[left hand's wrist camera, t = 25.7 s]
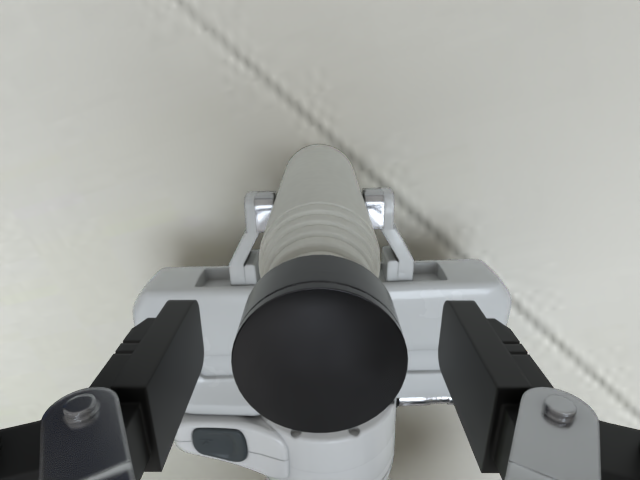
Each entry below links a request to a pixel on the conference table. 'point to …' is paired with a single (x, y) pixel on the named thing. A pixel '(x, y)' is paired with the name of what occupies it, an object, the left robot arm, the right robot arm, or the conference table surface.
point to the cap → (319, 345)
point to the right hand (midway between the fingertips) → (318, 191)
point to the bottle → (319, 213)
